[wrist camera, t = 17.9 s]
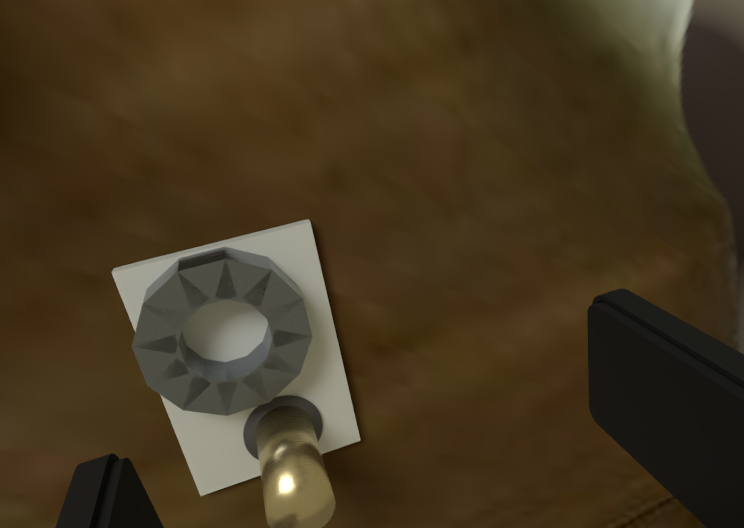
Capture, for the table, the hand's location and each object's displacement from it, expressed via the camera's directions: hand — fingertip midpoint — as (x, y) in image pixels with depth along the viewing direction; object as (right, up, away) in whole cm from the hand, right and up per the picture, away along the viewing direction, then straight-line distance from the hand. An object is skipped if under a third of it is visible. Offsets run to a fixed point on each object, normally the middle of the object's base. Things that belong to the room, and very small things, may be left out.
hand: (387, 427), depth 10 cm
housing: (-12, -2, +32) cm, 34 cm away
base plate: (-11, -5, +34) cm, 36 cm away
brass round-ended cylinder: (-8, -11, +36) cm, 39 cm away
